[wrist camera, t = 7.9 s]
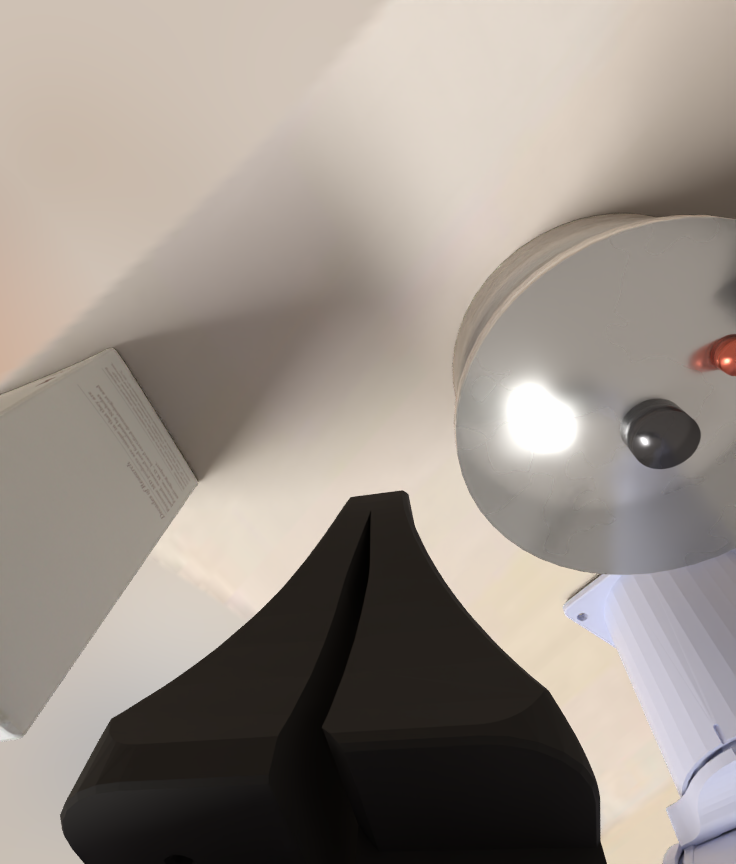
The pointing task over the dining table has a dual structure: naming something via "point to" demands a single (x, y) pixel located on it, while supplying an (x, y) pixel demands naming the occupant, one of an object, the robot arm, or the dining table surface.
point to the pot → (525, 275)
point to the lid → (611, 402)
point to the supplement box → (74, 518)
